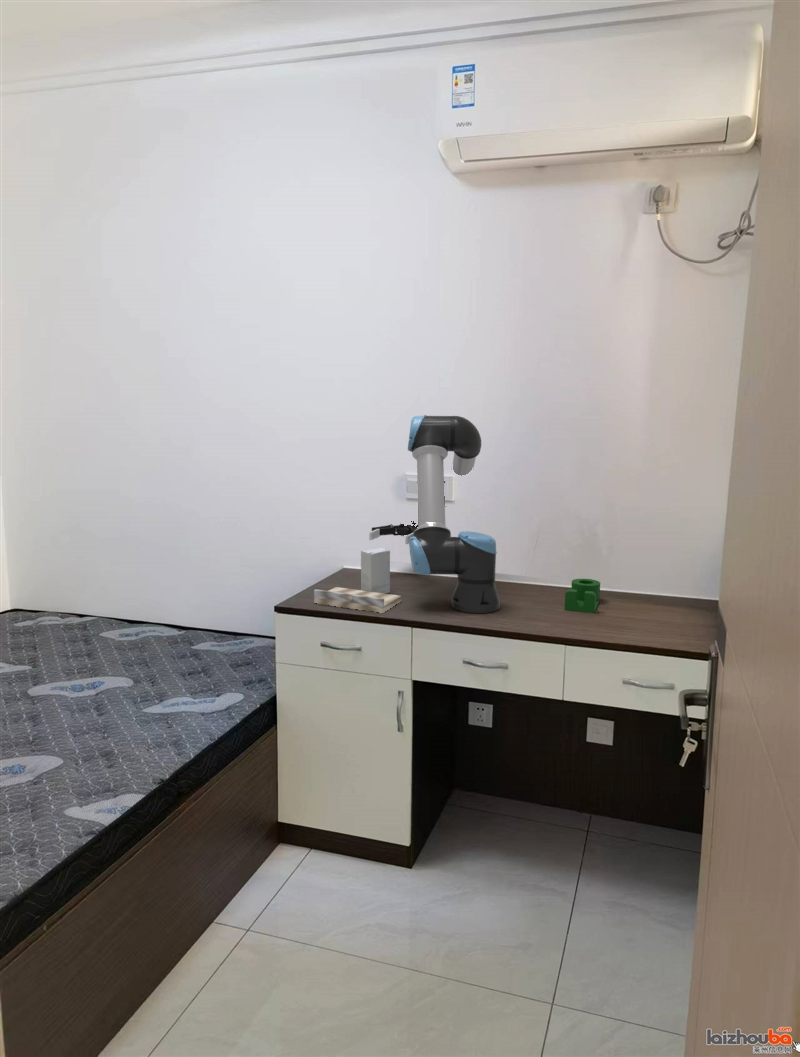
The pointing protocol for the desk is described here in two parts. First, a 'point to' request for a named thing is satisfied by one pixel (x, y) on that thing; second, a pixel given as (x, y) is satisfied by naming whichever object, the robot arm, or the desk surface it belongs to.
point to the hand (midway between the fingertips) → (388, 538)
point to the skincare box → (375, 570)
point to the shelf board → (356, 599)
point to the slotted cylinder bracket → (583, 596)
